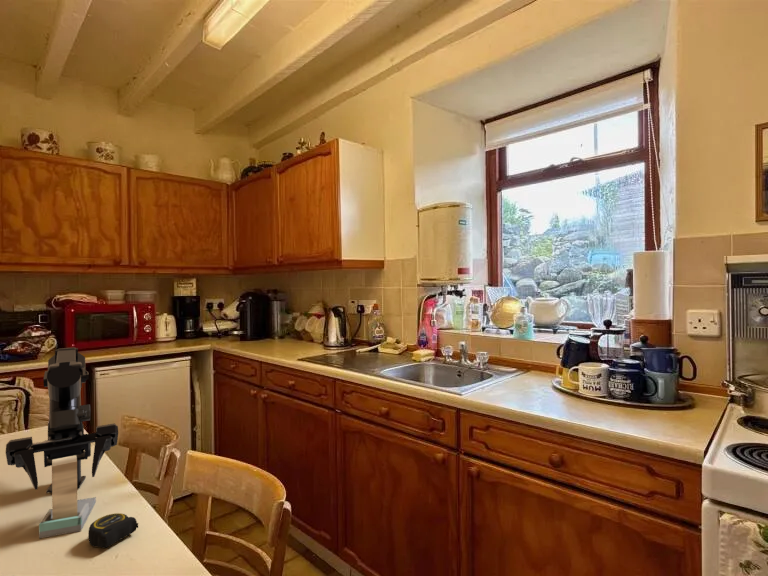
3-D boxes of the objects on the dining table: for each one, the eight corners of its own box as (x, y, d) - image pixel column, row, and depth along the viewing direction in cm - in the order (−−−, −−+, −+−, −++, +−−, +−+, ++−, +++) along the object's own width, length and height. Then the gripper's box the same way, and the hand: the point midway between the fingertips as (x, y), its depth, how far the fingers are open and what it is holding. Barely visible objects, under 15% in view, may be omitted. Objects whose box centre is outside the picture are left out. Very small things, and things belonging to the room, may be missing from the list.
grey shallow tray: (58, 508, 95) (58, 495, 95) (95, 502, 97) (95, 490, 97) (39, 538, 84) (39, 524, 84) (81, 530, 86) (81, 517, 86)
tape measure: (103, 555, 79) (103, 534, 79) (80, 545, 82) (80, 525, 82) (138, 535, 85) (138, 516, 85) (115, 527, 88) (115, 508, 88)
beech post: (52, 518, 88) (52, 459, 88) (76, 512, 91) (76, 455, 91) (52, 527, 85) (52, 466, 85) (77, 520, 88) (77, 461, 88)
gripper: (6, 400, 86) (-1, 476, 77) (117, 386, 97) (122, 452, 88) (10, 429, 92) (5, 502, 83) (114, 413, 103) (119, 477, 94)
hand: (65, 482), depth 87 cm, fingers open, 9 cm apart
